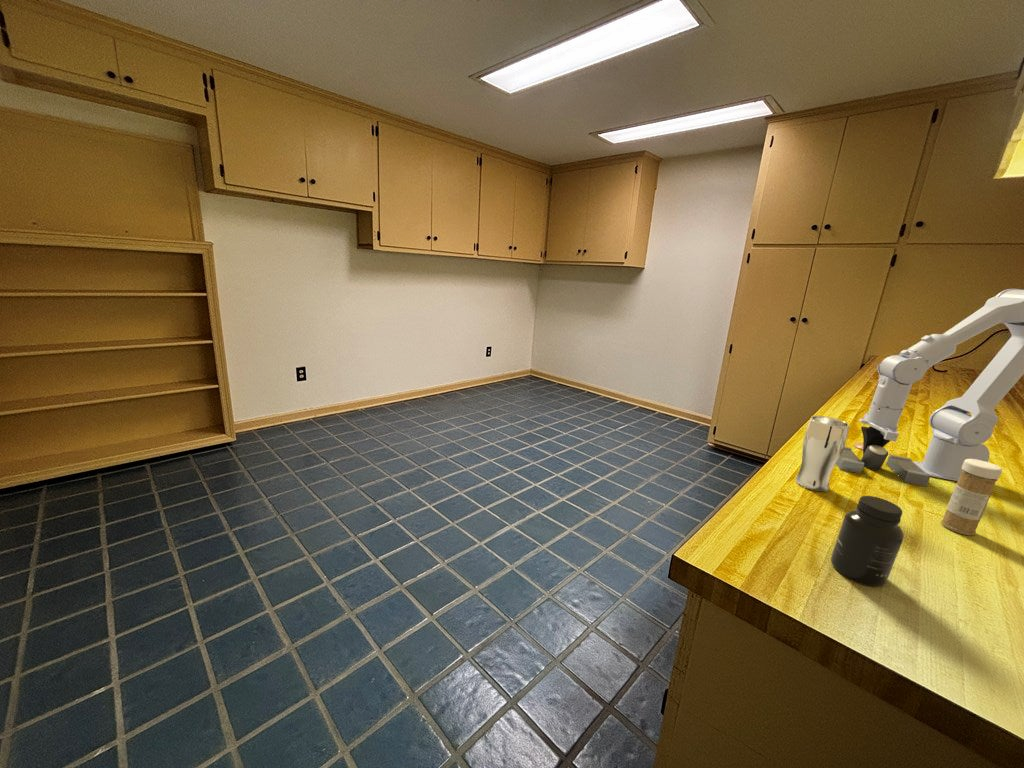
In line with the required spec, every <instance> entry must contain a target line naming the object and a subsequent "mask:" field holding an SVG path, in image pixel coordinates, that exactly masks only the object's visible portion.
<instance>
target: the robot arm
mask: <svg viewBox="0 0 1024 768" xmlns="http://www.w3.org/2000/svg"><path fill="white" fill-rule="evenodd" d="M998 324H999V325H1000V324H1003V325H1005V327H1006V328H1008V331H1009V333H1010V334H1011V336H1010V338H1009V339H1008V340H1007V341H1006V343H1005V344H1004V345H1003V346H1002V348H1001V349H1000V350H999V351H998V352H997V353H996V354H995V356H993V359H991V361H990V362H989V363H988V364H987V365H986V367H985V368H984V369H983V370H982V372H981V373H980V374H979V375H978V376H977V378H976V379H975V380H974V381H973V383H972V384H971V385H970V386H969V388H968V389H966V391H965V392H964V394H962V396H960V397H957V398H953V399H949V400H947V401H946V402H945V404H943V406H941V407H939V408H938V409H936V410H935V411H933V412H932V413H931V414H930V416H929V420H928V422H929V425H930V427H931V428H932V430H931V433H932V436H931V439H930V442H929V445H928V447H927V450H926V452H925V456H924V458H923V460H922V462H921V461H915V460H914V461H913V462H914V463H915V464H916V465H917V466H918V467H919V468H921V469H922V470H923V471H924V472H925V473H928V474H930V475H931V476H930V477H934V478H939V479H943V480H944V479H945V480H949V481H953V482H954V481H955V482H958V480H959V477H960V474H961V472H962V465H963V463H964V461H965V460H966V459H976V460H981V461H985V462H989V460H990V449H989V448H988V446H986V445H985V444H984V443H986V442H987V441H988V440H990V438H991V437H992V435H993V432H994V428H995V426H996V425H997V424H998V422H1000V421H999V417H998V415H997V413H996V411H995V408H996V407H997V406H998V404H999V403H1000V402H1001V401H1002V399H1004V398H1005V396H1006V395H1007V394H1008V393H1009V391H1011V390H1012V389H1013V387H1014V386H1015V385H1016V384H1017V382H1018V381H1019V380H1020V379H1021V378H1022V376H1023V375H1024V289H1019V288H1008V289H1004V290H1002V291H1000V292H999V293H998V294H996V295H995V296H993V297H991V298H988V299H987V300H986V302H985V304H984V305H983V306H982V307H980V308H979V309H978V310H976V311H975V312H974V313H973V312H972V313H971V314H970V315H969V316H967V317H966V318H964V319H962V320H961V321H960V322H959V323H957V324H955V325H954V326H953V327H951V328H950V329H948V330H946V331H945V332H943V333H940V334H939V333H932V334H930V335H926V334H925V335H924V336H923V337H920V341H918V342H916V344H915V343H914V344H913V345H912V346H910V347H908V348H907V349H903V350H901V351H900V352H899V353H898V354H895V355H890V356H888V357H886V358H884V359H883V360H882V361H881V362H880V363H879V364H877V366H876V371H877V373H878V376H879V378H878V383H877V386H876V389H875V392H874V395H873V397H872V400H871V404H870V406H869V410H868V412H866V413H864V415H863V418H862V417H861V418H859V423H861V424H865V425H868V426H861V427H860V429H861V430H860V431H861V433H862V438H863V440H862V441H863V442H862V443H863V450H862V456H863V455H864V453H865V451H866V448H867V447H868V446H869V445H878V446H881V447H883V448H884V447H885V446H886V445H887V444H888V443H889V442H897V440H898V438H899V435H900V434H899V433H898V423H899V421H900V418H901V415H902V413H903V411H904V408H905V405H906V402H907V399H908V397H909V395H910V391H911V388H912V386H913V384H914V383H917V382H919V381H921V380H922V379H923V377H924V376H925V375H926V372H927V371H928V370H929V368H931V367H933V366H935V365H937V364H939V363H940V362H942V361H943V360H946V359H947V358H949V357H950V356H952V355H954V354H955V353H956V352H957V351H956V350H957V345H960V344H962V343H964V342H966V341H968V340H970V339H971V338H973V337H975V336H977V335H979V334H981V333H983V332H985V331H986V330H988V329H990V328H992V327H995V326H996V325H998Z"/></svg>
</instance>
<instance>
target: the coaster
mask: <svg viewBox="0 0 1024 768" xmlns="http://www.w3.org/2000/svg"><path fill="white" fill-rule="evenodd" d="M853 446H854V447H855V448H856V449H858V450H861V451H863V442H854V444H853Z"/></svg>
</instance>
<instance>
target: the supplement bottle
mask: <svg viewBox="0 0 1024 768" xmlns="http://www.w3.org/2000/svg"><path fill="white" fill-rule="evenodd" d="M902 515H903V510H902V508H901V507H900V506H898V505H897V504H896V503H893V502H892V501H889V500H887V499H884V498H881V497H878V496H873V495H863V496H860V498H859V499H858V503H857V504H856V507H855V509H854V510H850V511H848V512H846V514H845V515H844V517H843V520H842V523H841V527H840V529H839V532H838V535H837V538H836V542H835V544H834V547H833V550H832V554H831V556H830V557H831V559H830V561H831V564H832V566H833V568H834V569H835V570H837V572H839V573H840V574H841V575H843V576H844V577H845V578H847V579H849V580H851V581H854V582H856V583H858V584H861V585H864V586H868V587H881V586H884V585H885V584H886V583H887V581H888V579H889V577H890V574H891V573H892V570H893V567H894V564H895V562H896V559H897V557H898V554H899V551H900V548H901V547H902V543H903V541H904V535H905V534H904V531H903V530H902V528H901V526H899V525H900V523H901V518H902Z"/></svg>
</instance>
